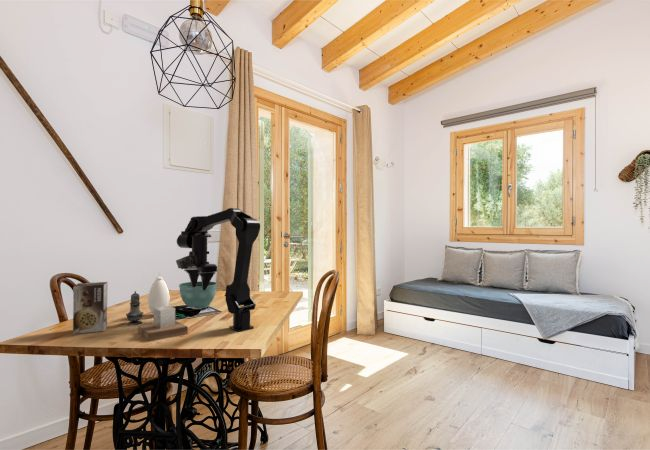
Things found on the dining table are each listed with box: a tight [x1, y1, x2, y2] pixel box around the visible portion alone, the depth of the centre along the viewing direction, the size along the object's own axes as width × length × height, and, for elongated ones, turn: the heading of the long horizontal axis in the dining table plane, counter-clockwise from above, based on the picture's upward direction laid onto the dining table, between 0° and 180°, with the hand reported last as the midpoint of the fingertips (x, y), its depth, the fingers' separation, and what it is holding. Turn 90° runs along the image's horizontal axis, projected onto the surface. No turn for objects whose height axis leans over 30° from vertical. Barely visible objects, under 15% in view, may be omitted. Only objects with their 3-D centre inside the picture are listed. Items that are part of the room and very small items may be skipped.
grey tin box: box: [153, 305, 176, 329], centre depth 121 cm, size 5×5×6 cm
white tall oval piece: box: [147, 270, 171, 314], centre depth 145 cm, size 8×8×18 cm
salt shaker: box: [125, 290, 144, 326], centre depth 133 cm, size 6×6×12 cm
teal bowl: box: [178, 280, 218, 309], centre depth 160 cm, size 16×16×11 cm
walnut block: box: [137, 320, 189, 342], centre depth 120 cm, size 12×12×3 cm
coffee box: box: [72, 281, 108, 335], centre depth 123 cm, size 9×6×16 cm
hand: (198, 288), depth 139 cm, fingers open, 9 cm apart
